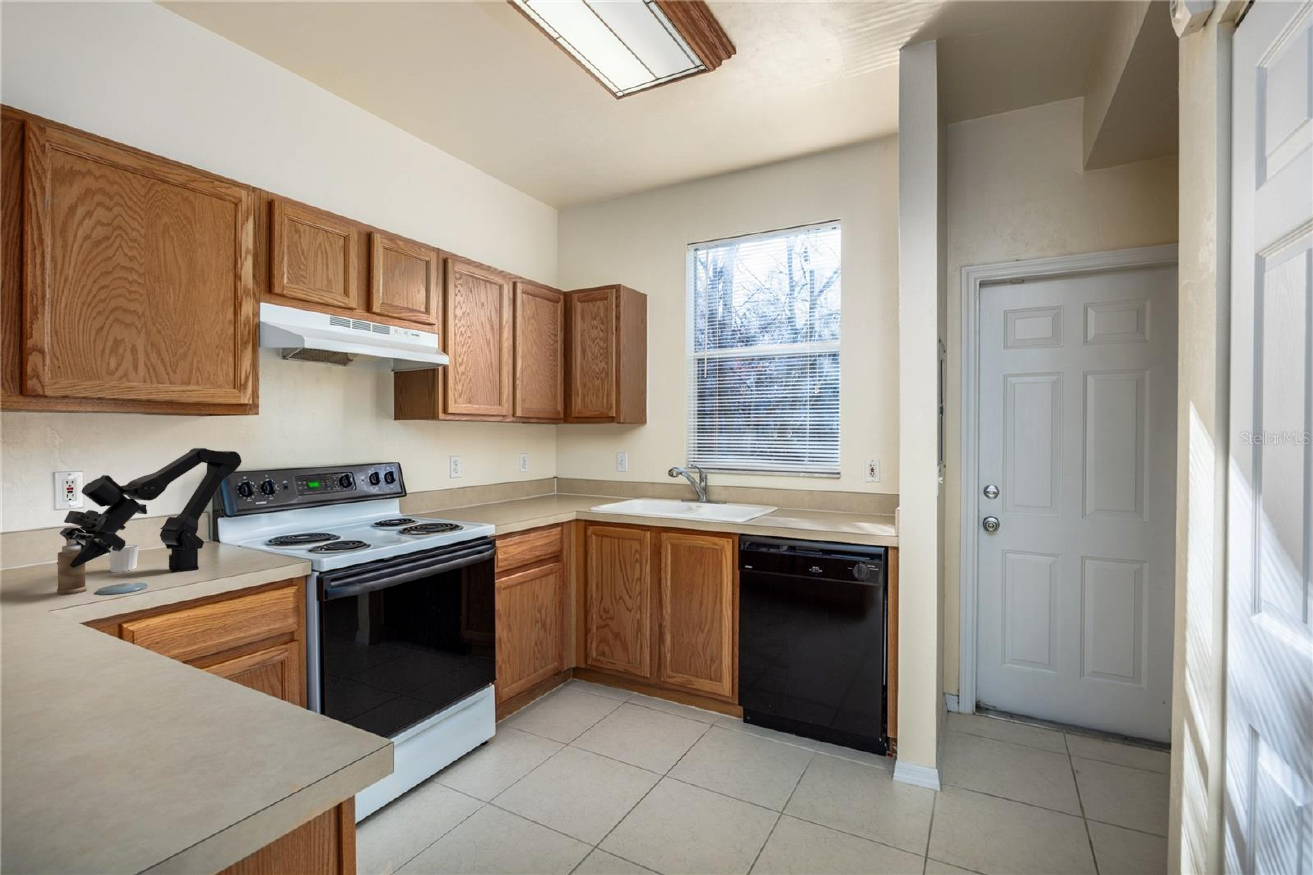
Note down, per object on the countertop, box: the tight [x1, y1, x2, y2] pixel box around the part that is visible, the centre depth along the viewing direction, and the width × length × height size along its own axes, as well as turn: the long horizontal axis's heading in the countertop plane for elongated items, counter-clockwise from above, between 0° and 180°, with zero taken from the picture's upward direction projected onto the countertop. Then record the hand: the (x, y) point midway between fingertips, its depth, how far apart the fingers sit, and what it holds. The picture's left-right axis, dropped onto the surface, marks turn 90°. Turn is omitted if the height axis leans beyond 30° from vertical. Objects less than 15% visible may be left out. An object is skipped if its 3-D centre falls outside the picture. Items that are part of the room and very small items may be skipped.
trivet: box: [96, 582, 148, 596], centre depth 163 cm, size 10×10×1 cm
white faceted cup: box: [108, 544, 140, 573], centre depth 185 cm, size 7×7×7 cm
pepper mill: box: [56, 539, 88, 596], centre depth 160 cm, size 6×6×14 cm
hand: (64, 565), depth 158 cm, fingers closed on pepper mill, 5 cm apart
